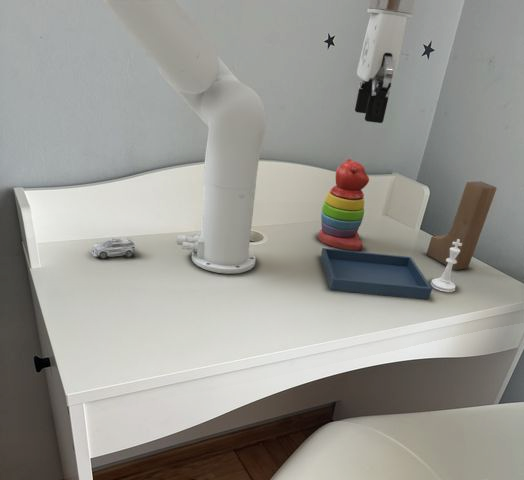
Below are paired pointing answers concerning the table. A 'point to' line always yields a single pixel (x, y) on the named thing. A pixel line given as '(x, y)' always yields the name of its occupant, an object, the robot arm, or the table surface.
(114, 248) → the toy car
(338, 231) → the stacking bear
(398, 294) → the tray
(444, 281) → the chess piece
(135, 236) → the table surface
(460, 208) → the wooden block
